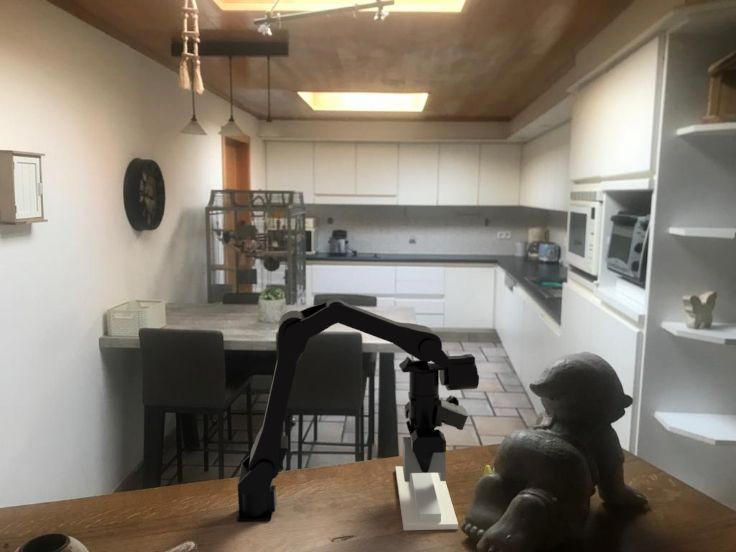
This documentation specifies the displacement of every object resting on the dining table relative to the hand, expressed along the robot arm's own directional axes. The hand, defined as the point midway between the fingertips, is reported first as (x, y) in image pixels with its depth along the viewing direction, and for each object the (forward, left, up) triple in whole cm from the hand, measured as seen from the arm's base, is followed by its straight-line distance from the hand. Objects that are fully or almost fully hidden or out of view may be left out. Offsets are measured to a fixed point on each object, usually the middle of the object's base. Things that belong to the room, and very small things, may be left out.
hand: (423, 465), depth 113 cm
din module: (0, 0, -2) cm, 2 cm away
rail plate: (0, 0, -7) cm, 7 cm away
